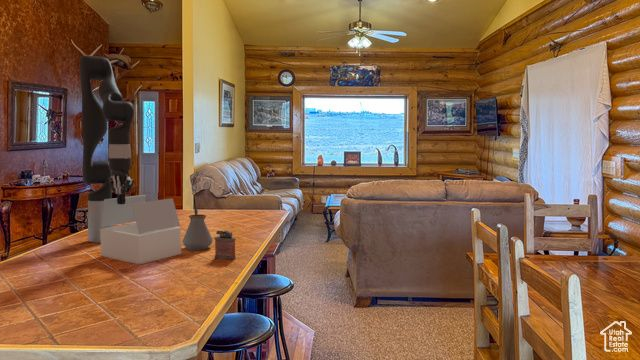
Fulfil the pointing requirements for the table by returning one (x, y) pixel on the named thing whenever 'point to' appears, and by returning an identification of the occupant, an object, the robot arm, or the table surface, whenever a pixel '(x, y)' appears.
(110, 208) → the flap
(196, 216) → the coffee pot
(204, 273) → the table surface
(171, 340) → the table surface
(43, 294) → the table surface
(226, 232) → the lighter
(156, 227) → the flap
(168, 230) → the carton
